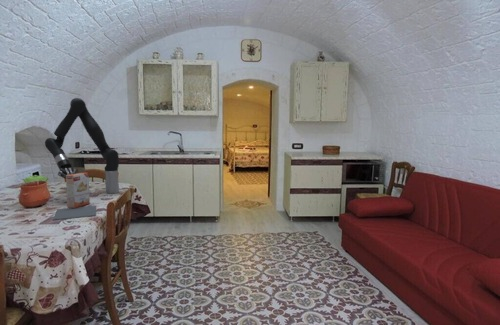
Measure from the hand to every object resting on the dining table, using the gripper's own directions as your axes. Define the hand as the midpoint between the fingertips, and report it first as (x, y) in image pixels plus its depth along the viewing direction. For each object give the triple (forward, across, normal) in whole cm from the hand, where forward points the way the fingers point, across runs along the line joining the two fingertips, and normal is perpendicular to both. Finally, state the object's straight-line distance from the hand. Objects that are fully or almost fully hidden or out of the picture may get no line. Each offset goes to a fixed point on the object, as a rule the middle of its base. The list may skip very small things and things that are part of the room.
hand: (73, 182), depth 214 cm
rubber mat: (+24, -9, -3) cm, 26 cm away
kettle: (-38, +4, +59) cm, 71 cm away
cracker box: (+15, -1, +5) cm, 16 cm away
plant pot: (-22, +24, +43) cm, 54 cm away
